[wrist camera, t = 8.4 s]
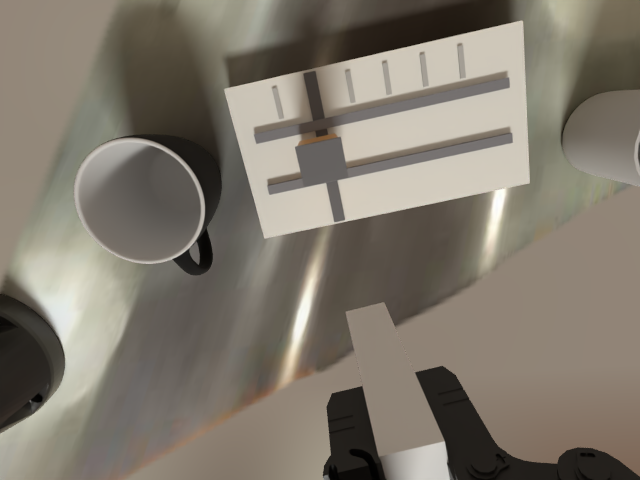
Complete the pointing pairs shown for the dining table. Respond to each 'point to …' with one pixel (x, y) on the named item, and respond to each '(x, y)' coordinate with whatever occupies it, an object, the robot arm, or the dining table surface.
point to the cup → (606, 136)
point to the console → (389, 129)
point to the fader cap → (321, 160)
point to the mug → (150, 199)
